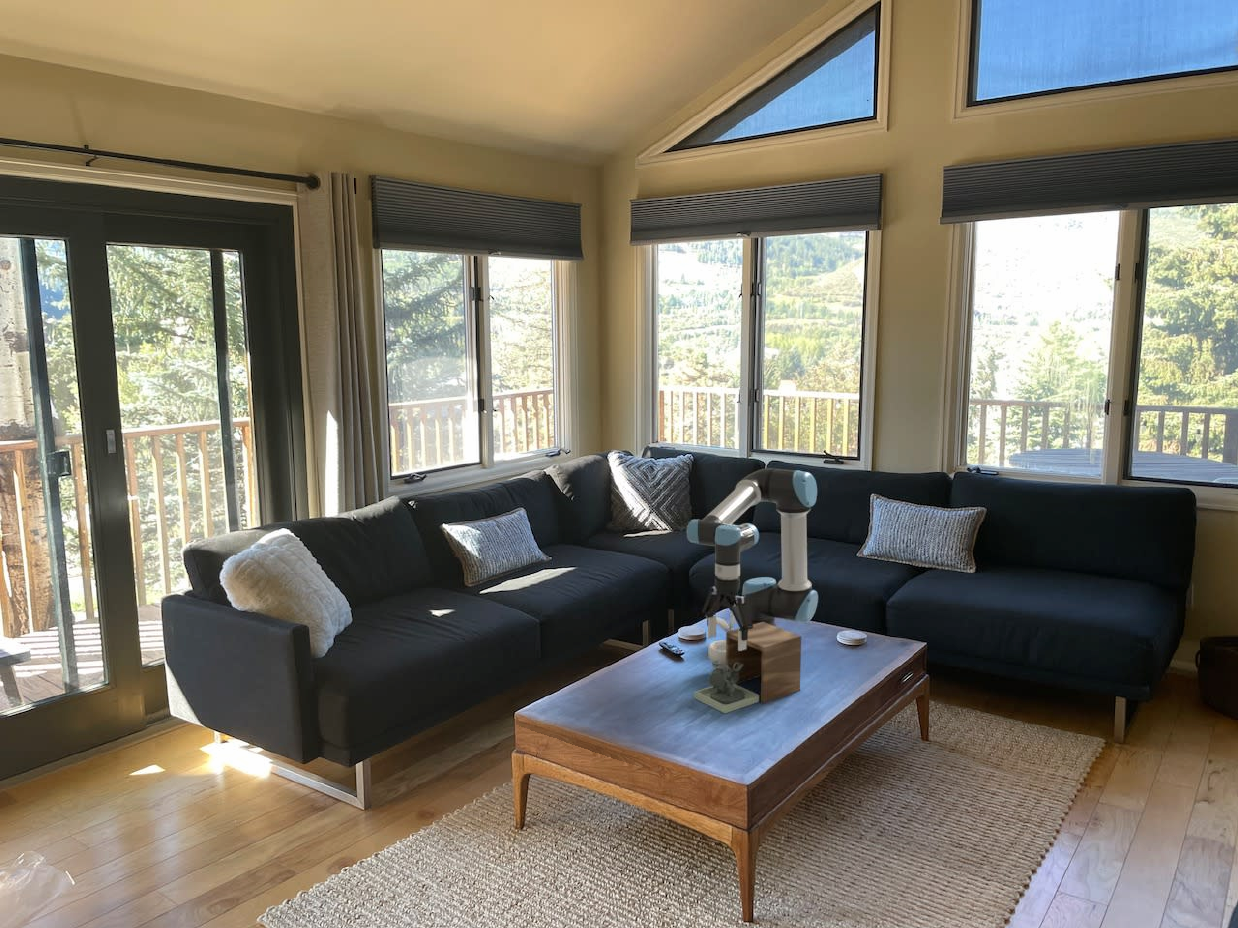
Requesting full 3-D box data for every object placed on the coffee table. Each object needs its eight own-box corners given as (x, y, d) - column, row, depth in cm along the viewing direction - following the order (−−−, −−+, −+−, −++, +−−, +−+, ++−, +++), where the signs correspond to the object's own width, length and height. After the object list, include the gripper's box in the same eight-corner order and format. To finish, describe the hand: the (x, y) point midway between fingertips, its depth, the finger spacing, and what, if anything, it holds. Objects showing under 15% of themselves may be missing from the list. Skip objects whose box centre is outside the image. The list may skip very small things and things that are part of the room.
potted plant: (747, 670, 319) (748, 598, 315) (736, 683, 309) (737, 609, 304) (711, 664, 324) (712, 593, 320) (699, 677, 314) (700, 604, 310)
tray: (694, 697, 298) (694, 691, 297) (728, 687, 306) (728, 680, 305) (724, 713, 286) (725, 706, 286) (759, 701, 294) (759, 695, 294)
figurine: (740, 706, 289) (741, 668, 287) (705, 701, 293) (706, 664, 291) (747, 692, 299) (748, 656, 297) (714, 688, 302) (714, 652, 300)
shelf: (725, 685, 307) (726, 631, 304) (762, 673, 316) (762, 621, 313) (763, 703, 293) (764, 647, 290) (799, 690, 303) (801, 636, 300)
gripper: (691, 569, 297) (691, 634, 301) (746, 588, 277) (746, 658, 281) (709, 565, 301) (709, 629, 305) (765, 583, 281) (764, 652, 285)
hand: (726, 643), depth 293 cm, fingers open, 13 cm apart
